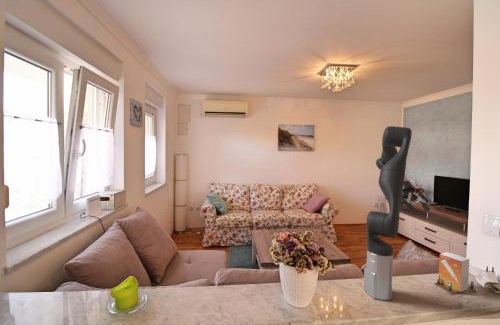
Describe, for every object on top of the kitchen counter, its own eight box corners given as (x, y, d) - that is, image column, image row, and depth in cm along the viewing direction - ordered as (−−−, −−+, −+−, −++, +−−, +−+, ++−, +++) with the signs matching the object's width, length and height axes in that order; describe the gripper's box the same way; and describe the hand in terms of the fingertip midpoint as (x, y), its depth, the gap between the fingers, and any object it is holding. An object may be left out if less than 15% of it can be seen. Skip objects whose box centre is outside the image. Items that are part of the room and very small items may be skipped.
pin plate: (451, 294, 94) (451, 284, 94) (434, 284, 101) (435, 276, 101) (475, 291, 96) (476, 283, 96) (457, 282, 103) (458, 274, 103)
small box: (438, 282, 101) (439, 253, 101) (445, 279, 104) (446, 251, 104) (460, 292, 94) (462, 261, 94) (468, 289, 97) (469, 258, 96)
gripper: (394, 179, 118) (412, 206, 107) (418, 180, 120) (438, 206, 109) (386, 188, 123) (403, 215, 112) (409, 188, 125) (428, 214, 114)
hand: (420, 210), depth 110 cm, fingers open, 8 cm apart
